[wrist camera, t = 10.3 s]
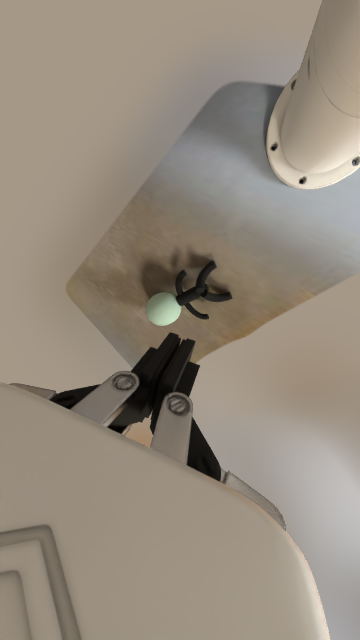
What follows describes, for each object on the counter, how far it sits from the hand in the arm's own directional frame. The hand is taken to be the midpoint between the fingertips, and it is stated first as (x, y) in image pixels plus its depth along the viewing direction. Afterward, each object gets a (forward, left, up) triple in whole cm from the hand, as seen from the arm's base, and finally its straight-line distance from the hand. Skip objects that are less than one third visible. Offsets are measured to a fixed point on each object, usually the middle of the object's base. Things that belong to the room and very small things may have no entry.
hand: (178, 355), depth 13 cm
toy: (+6, -5, -25) cm, 26 cm away
